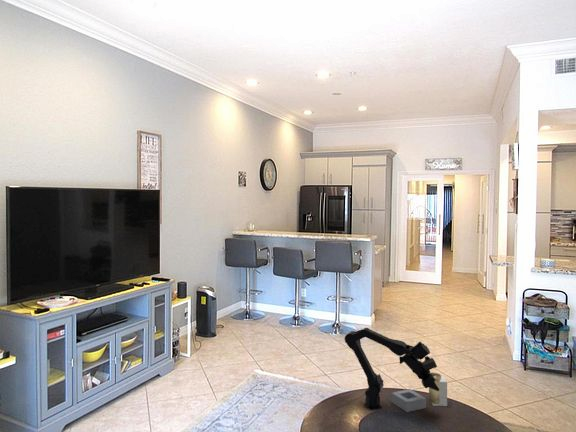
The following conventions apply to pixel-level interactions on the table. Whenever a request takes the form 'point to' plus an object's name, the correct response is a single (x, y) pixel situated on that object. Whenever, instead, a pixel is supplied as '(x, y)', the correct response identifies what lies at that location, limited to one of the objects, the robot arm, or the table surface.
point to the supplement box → (442, 393)
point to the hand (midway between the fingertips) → (437, 388)
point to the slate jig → (408, 400)
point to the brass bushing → (433, 394)
